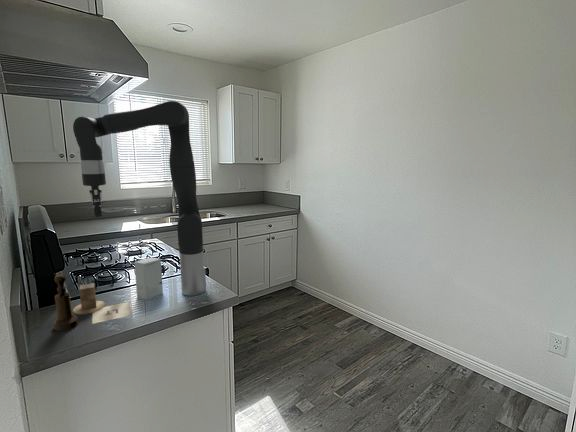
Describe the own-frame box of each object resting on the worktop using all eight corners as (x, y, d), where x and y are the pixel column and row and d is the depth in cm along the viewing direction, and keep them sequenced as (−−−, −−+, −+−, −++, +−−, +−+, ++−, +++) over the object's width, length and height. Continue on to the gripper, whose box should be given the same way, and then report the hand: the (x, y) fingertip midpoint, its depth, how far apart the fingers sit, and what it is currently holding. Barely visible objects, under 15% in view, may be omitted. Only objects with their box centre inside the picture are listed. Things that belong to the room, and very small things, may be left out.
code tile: (129, 302, 123) (128, 301, 123) (131, 315, 113) (131, 315, 113) (92, 309, 117) (92, 309, 117) (92, 324, 107) (92, 323, 107)
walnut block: (96, 303, 122) (94, 283, 120) (96, 307, 118) (94, 287, 116) (82, 305, 119) (79, 285, 118) (81, 310, 115) (79, 289, 114)
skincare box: (146, 300, 125) (143, 264, 122) (136, 297, 128) (133, 261, 125) (164, 293, 132) (161, 258, 129) (154, 290, 135) (151, 256, 132)
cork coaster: (104, 300, 125) (104, 298, 125) (105, 310, 117) (105, 309, 117) (74, 305, 120) (73, 304, 120) (72, 317, 112) (72, 315, 112)
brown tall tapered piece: (50, 327, 105) (43, 275, 102) (72, 319, 110) (66, 269, 107) (59, 333, 102) (52, 279, 98) (81, 325, 107) (75, 273, 104)
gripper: (105, 173, 117) (110, 216, 120) (103, 171, 129) (108, 211, 132) (81, 173, 113) (86, 219, 116) (81, 172, 125) (86, 213, 128)
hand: (98, 214), depth 124 cm, fingers open, 8 cm apart
